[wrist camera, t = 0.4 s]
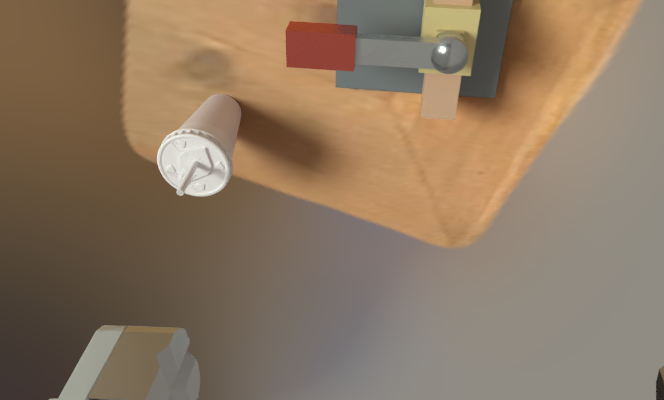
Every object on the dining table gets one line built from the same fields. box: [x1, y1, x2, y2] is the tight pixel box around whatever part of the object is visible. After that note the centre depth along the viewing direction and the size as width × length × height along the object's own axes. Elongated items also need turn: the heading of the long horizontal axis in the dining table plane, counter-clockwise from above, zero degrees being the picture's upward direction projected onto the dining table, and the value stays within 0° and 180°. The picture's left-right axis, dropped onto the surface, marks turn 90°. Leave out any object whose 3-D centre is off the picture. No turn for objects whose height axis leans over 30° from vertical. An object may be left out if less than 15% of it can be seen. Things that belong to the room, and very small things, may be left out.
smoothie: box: [157, 94, 242, 196], centre depth 56 cm, size 6×6×14 cm
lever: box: [286, 21, 468, 74], centre depth 47 cm, size 13×3×2 cm, turn 89°
